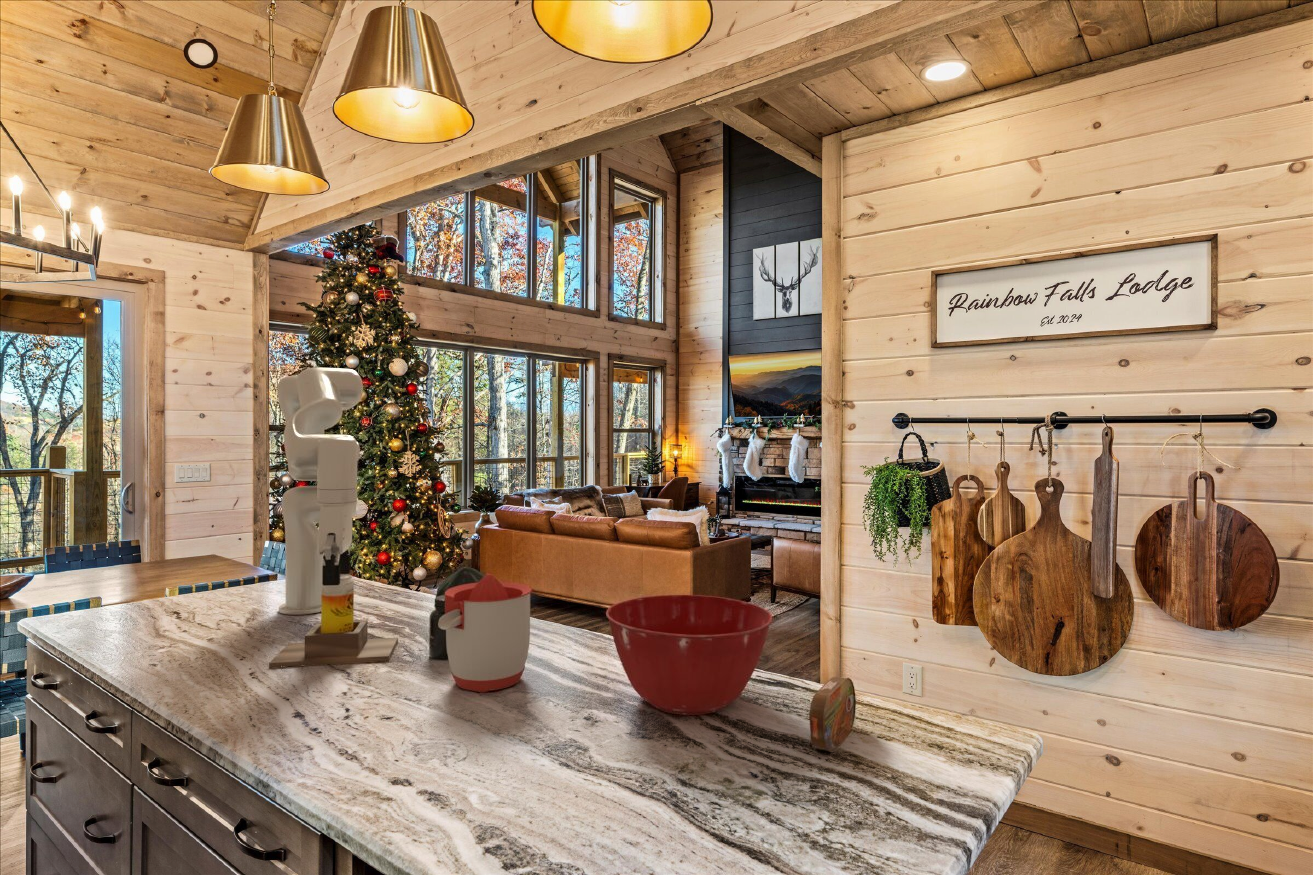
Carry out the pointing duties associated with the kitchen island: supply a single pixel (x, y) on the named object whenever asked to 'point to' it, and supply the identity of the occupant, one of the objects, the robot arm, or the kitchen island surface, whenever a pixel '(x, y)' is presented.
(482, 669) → the citrus juicer
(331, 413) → the robot arm
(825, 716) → the tin
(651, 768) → the kitchen island surface
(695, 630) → the mixing bowl
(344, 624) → the beer can
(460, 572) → the squash
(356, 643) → the can caddy
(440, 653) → the supplement bottle
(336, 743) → the kitchen island surface
